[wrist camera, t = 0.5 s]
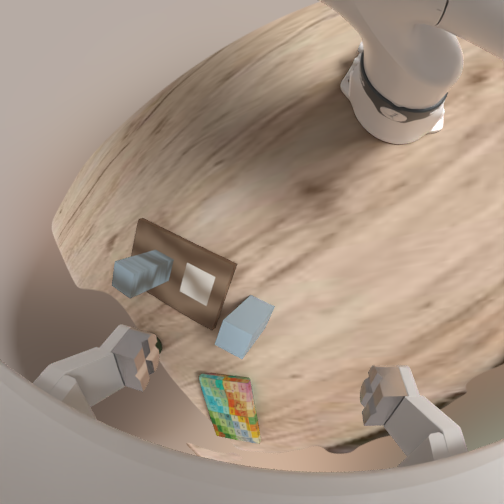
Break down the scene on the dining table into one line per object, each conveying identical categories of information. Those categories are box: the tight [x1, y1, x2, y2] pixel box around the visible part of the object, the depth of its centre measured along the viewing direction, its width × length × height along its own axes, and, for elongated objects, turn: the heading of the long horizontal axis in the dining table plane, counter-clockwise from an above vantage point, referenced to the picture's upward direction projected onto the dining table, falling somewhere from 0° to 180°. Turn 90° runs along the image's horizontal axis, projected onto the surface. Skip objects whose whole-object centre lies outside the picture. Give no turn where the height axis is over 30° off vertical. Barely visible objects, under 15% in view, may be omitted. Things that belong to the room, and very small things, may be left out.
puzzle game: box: [199, 373, 261, 444], centre depth 57 cm, size 12×5×20 cm
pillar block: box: [215, 295, 275, 359], centre depth 47 cm, size 5×5×12 cm
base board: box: [112, 218, 237, 330], centre depth 51 cm, size 15×24×14 cm, turn 69°
